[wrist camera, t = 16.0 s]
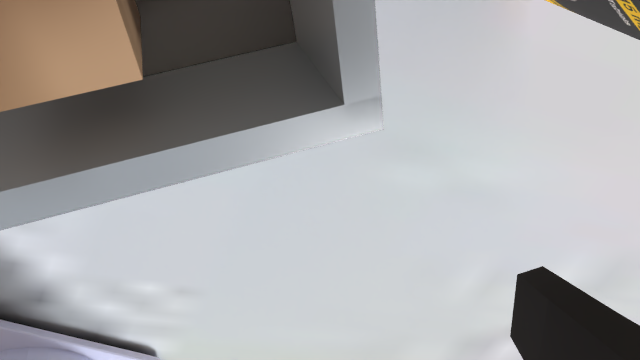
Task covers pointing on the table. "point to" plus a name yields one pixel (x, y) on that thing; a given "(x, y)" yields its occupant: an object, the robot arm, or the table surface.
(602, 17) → the medicine bottle
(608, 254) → the table surface
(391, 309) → the table surface
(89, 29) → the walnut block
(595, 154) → the table surface
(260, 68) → the grey u-shaped wall
